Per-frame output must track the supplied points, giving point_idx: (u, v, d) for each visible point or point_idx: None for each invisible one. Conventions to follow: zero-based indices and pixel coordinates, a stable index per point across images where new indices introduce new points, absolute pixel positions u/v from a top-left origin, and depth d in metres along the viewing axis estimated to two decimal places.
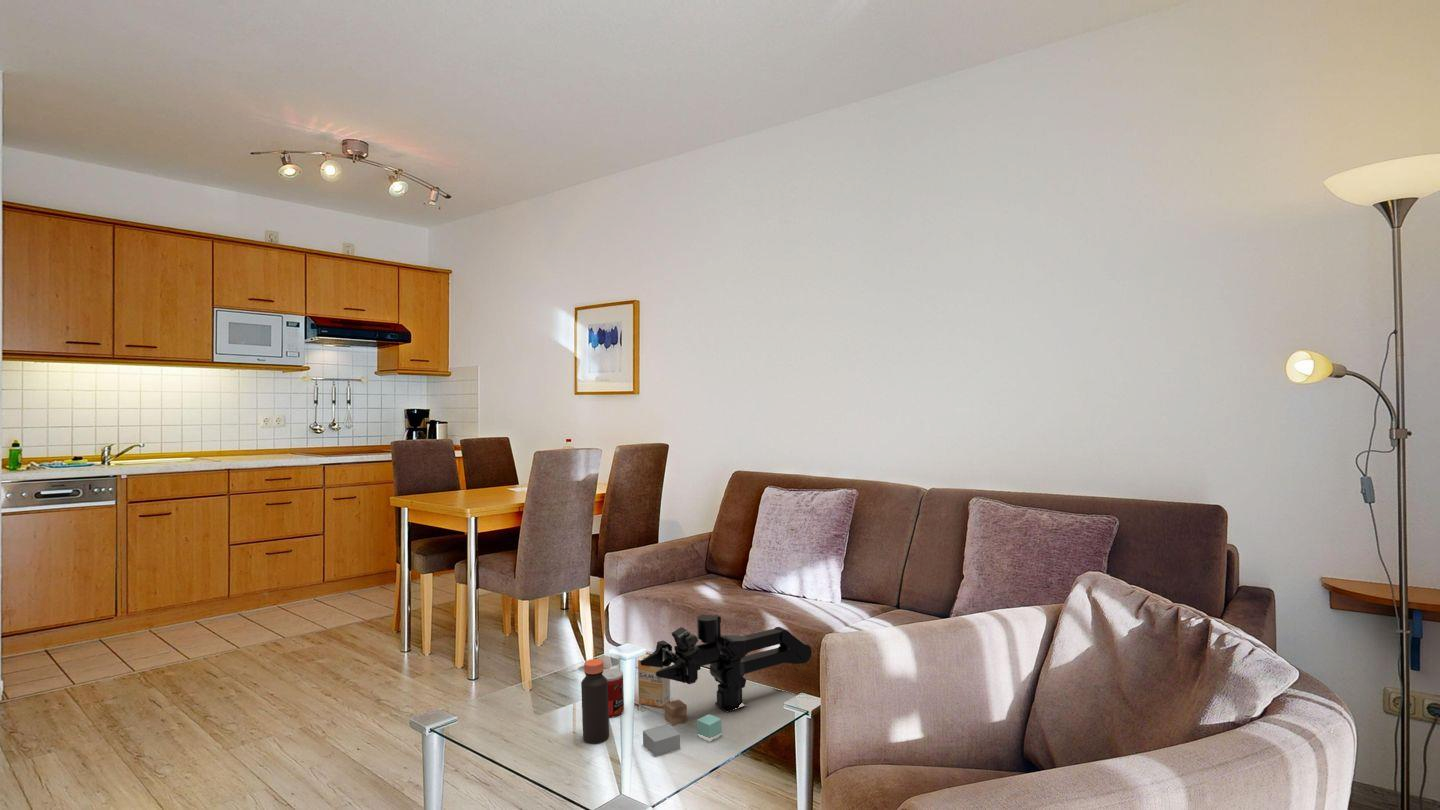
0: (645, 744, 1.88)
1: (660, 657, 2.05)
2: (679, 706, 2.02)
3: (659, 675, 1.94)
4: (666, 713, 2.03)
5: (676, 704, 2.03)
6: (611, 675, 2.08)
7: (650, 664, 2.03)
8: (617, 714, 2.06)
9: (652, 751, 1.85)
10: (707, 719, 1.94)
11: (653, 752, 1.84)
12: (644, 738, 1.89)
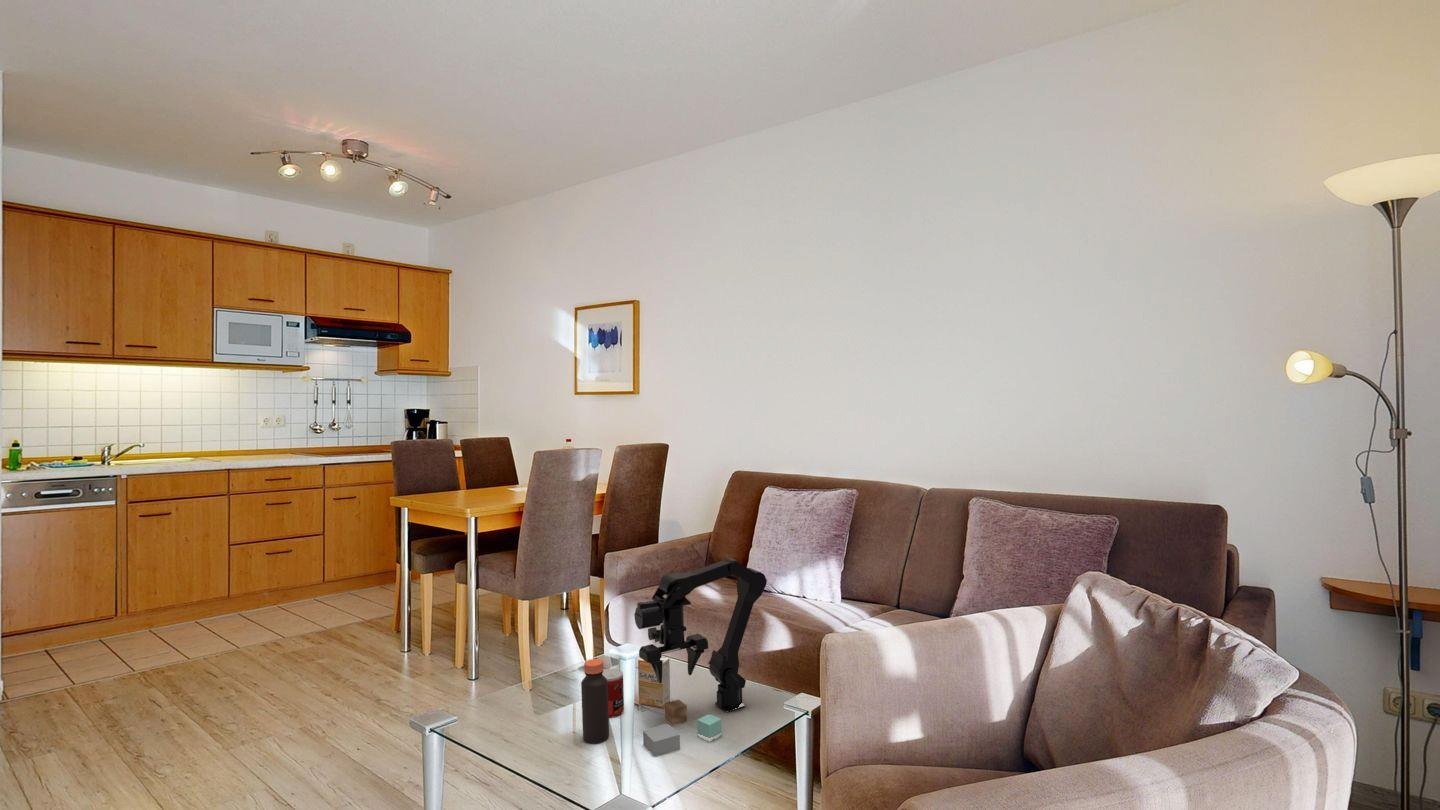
0: (645, 744, 1.89)
1: (690, 652, 2.05)
2: (679, 706, 2.02)
3: (659, 680, 2.00)
4: (666, 713, 2.03)
5: (676, 704, 2.03)
6: (611, 675, 2.08)
7: (691, 665, 2.04)
8: (617, 714, 2.06)
9: (652, 751, 1.85)
10: (707, 719, 1.94)
11: (653, 752, 1.85)
12: (644, 738, 1.89)
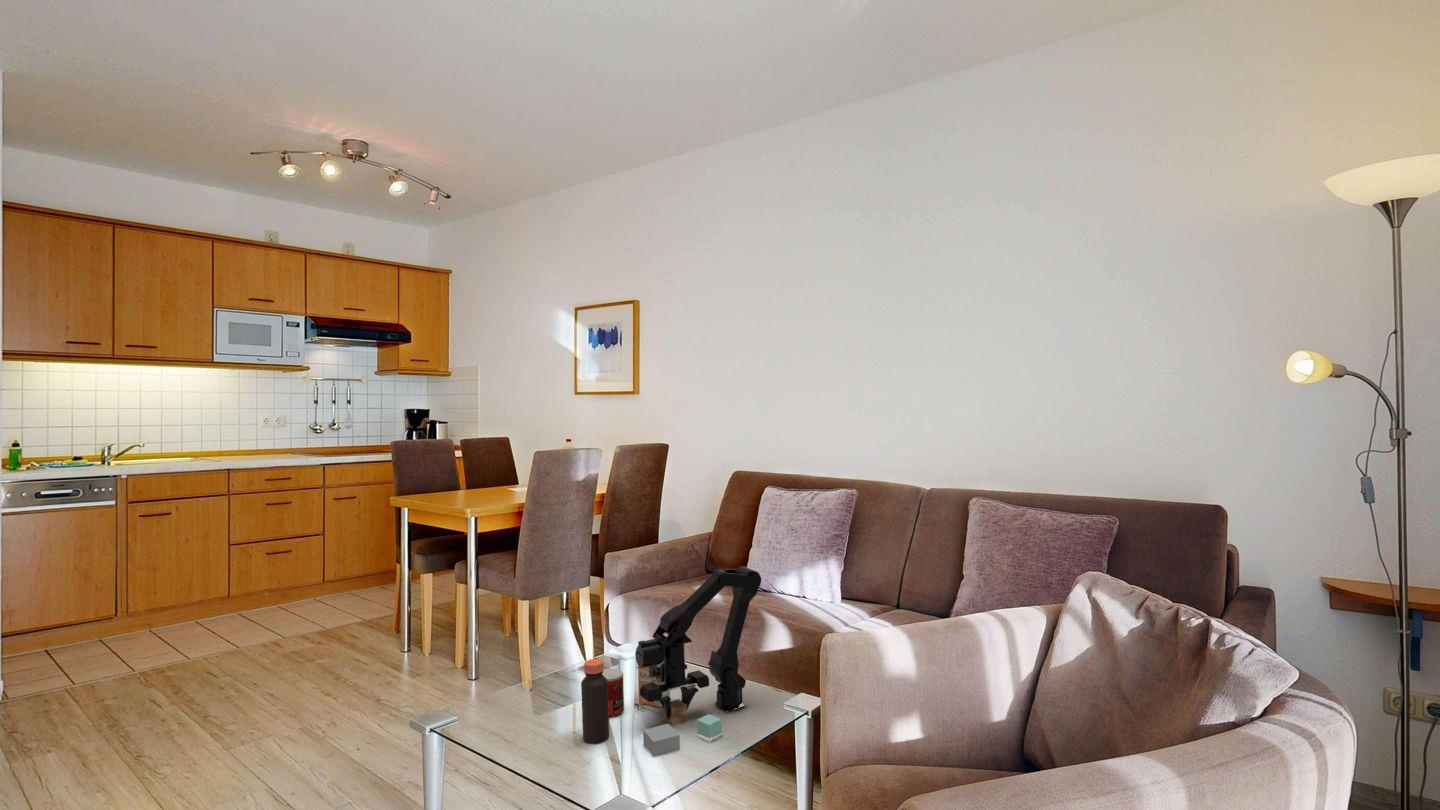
0: (646, 743, 1.89)
1: (684, 691, 2.05)
2: (679, 706, 2.02)
3: (667, 716, 2.01)
4: None
5: (676, 703, 2.03)
6: (611, 675, 2.08)
7: None
8: (617, 714, 2.06)
9: (651, 751, 1.85)
10: (707, 719, 1.94)
11: (652, 752, 1.85)
12: (644, 738, 1.89)
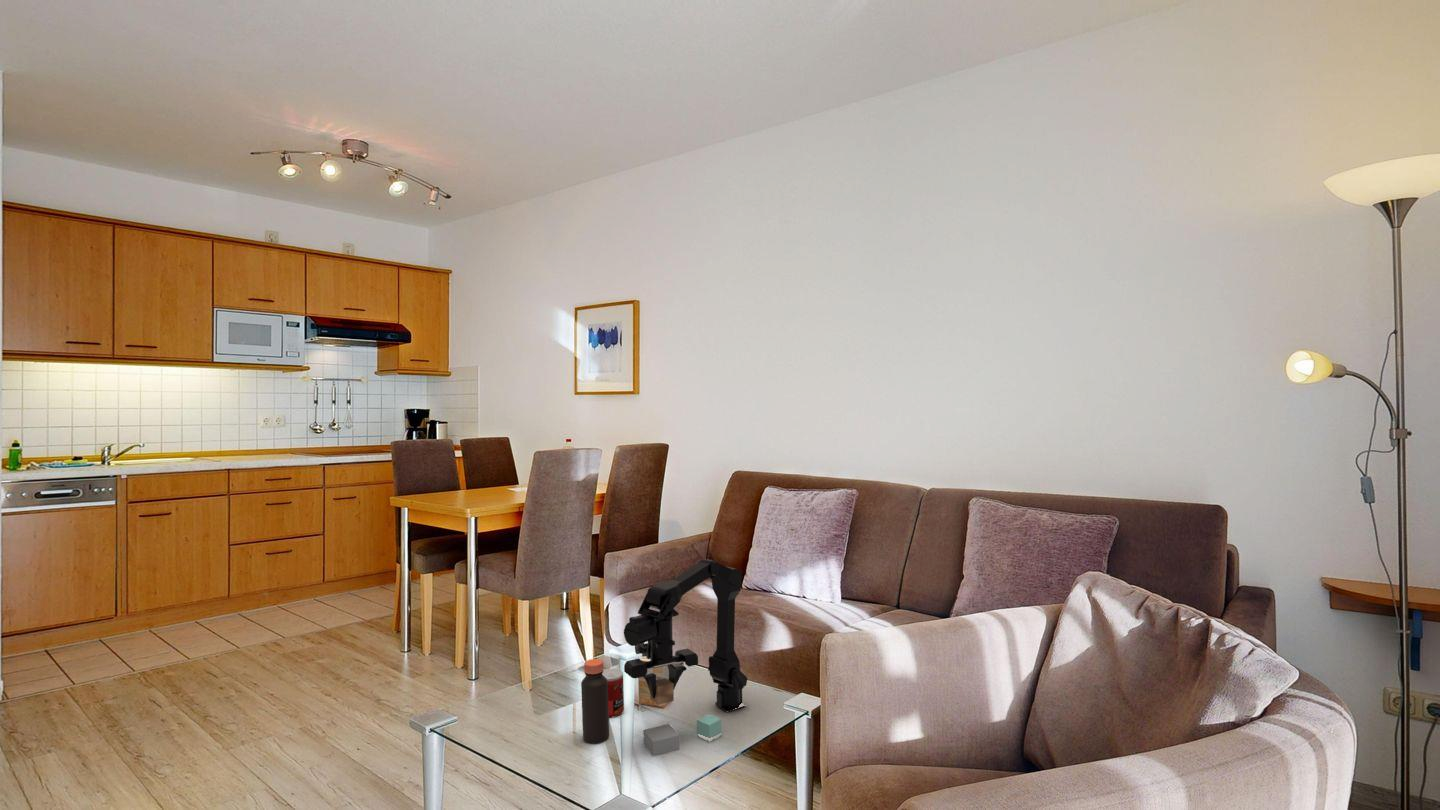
0: (646, 743, 1.89)
1: (671, 669, 1.93)
2: (665, 684, 1.90)
3: (652, 695, 1.90)
4: None
5: (663, 682, 1.92)
6: (611, 675, 2.08)
7: None
8: (617, 714, 2.06)
9: (651, 751, 1.85)
10: (707, 719, 1.94)
11: (652, 752, 1.85)
12: (644, 737, 1.89)
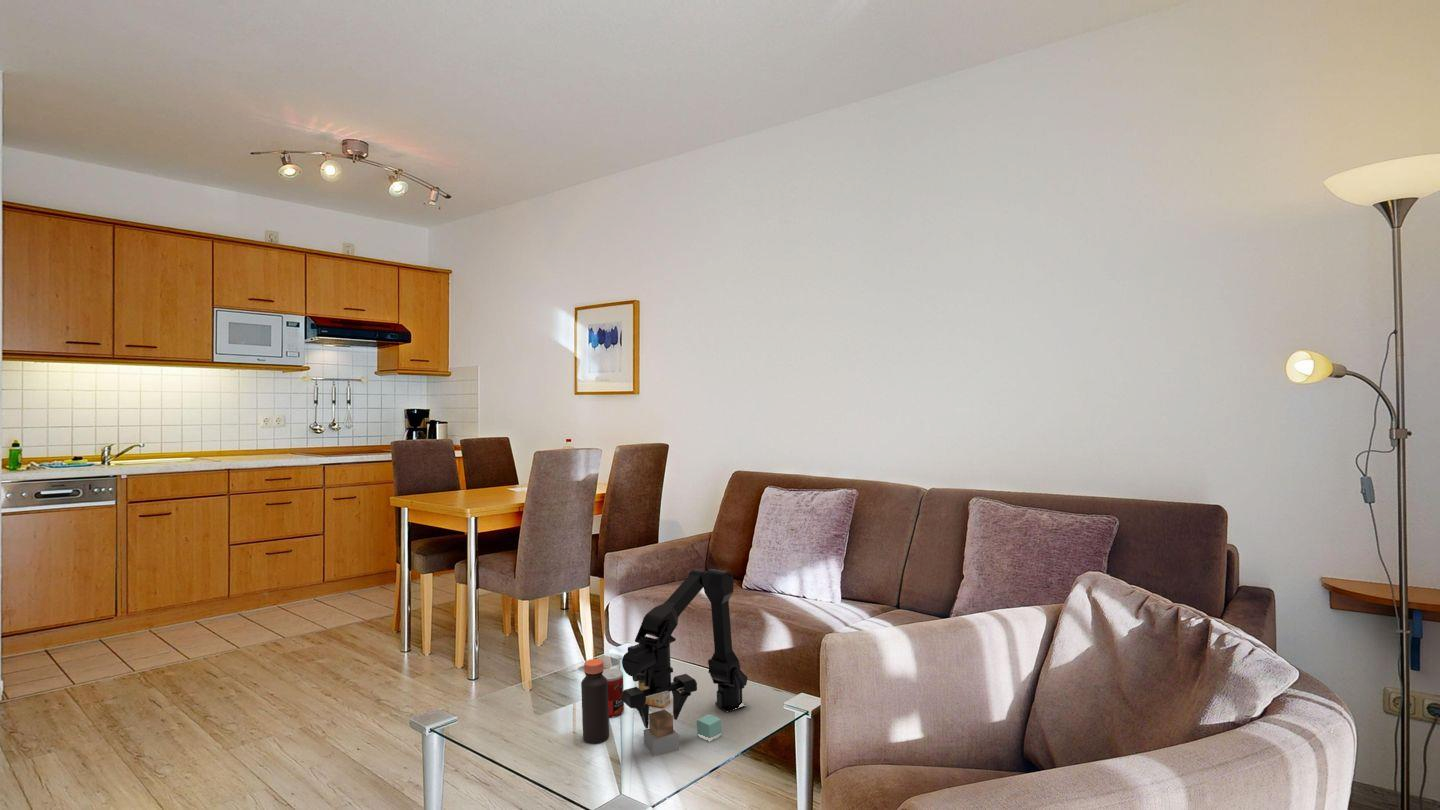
0: (646, 743, 1.89)
1: (676, 694, 1.91)
2: (664, 717, 1.87)
3: (645, 725, 1.86)
4: (651, 724, 1.89)
5: (662, 714, 1.89)
6: (611, 675, 2.08)
7: (676, 709, 1.90)
8: (617, 714, 2.06)
9: (651, 751, 1.85)
10: (707, 719, 1.94)
11: (652, 752, 1.85)
12: (644, 737, 1.89)
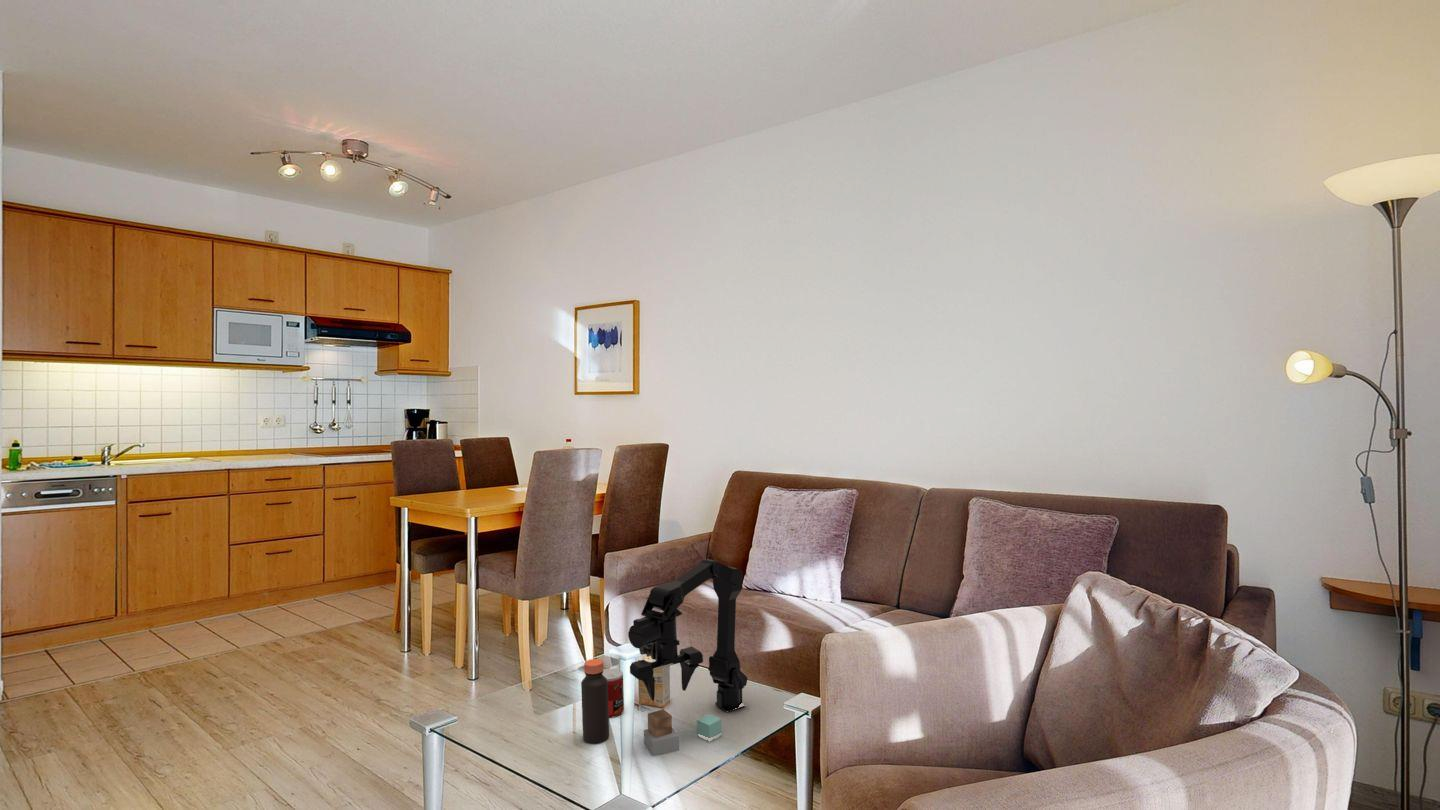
0: (646, 743, 1.89)
1: (684, 666, 1.95)
2: (663, 717, 1.87)
3: (651, 697, 1.90)
4: (649, 724, 1.89)
5: (661, 714, 1.89)
6: (611, 675, 2.08)
7: (685, 680, 1.94)
8: (617, 714, 2.06)
9: (651, 751, 1.85)
10: (707, 719, 1.94)
11: (652, 752, 1.85)
12: (644, 737, 1.89)
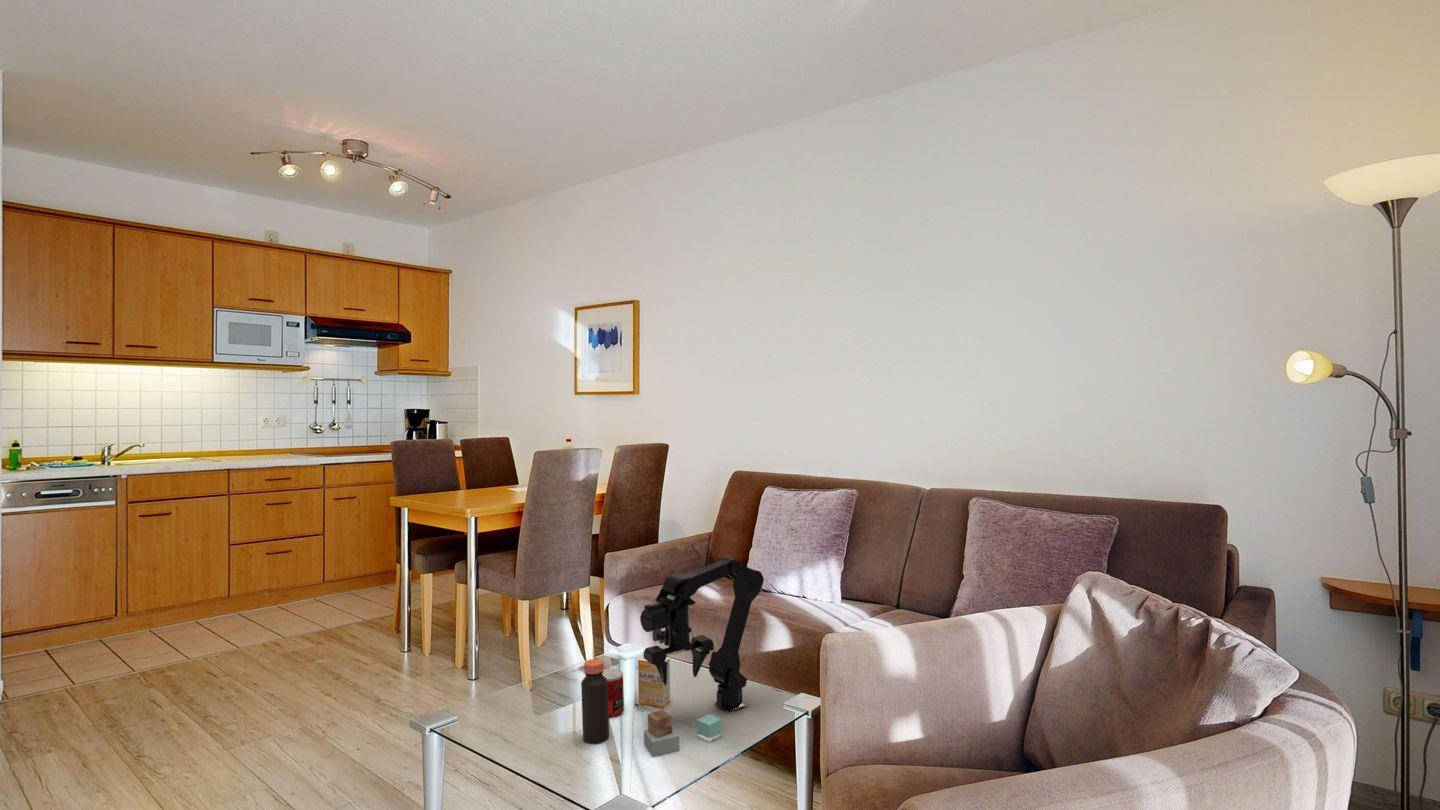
0: (646, 743, 1.89)
1: (695, 653, 2.03)
2: (664, 717, 1.87)
3: (663, 682, 1.97)
4: (650, 724, 1.88)
5: (661, 714, 1.89)
6: (611, 675, 2.08)
7: (696, 667, 2.02)
8: (617, 714, 2.06)
9: (651, 752, 1.85)
10: (707, 719, 1.94)
11: (652, 752, 1.84)
12: (645, 738, 1.89)
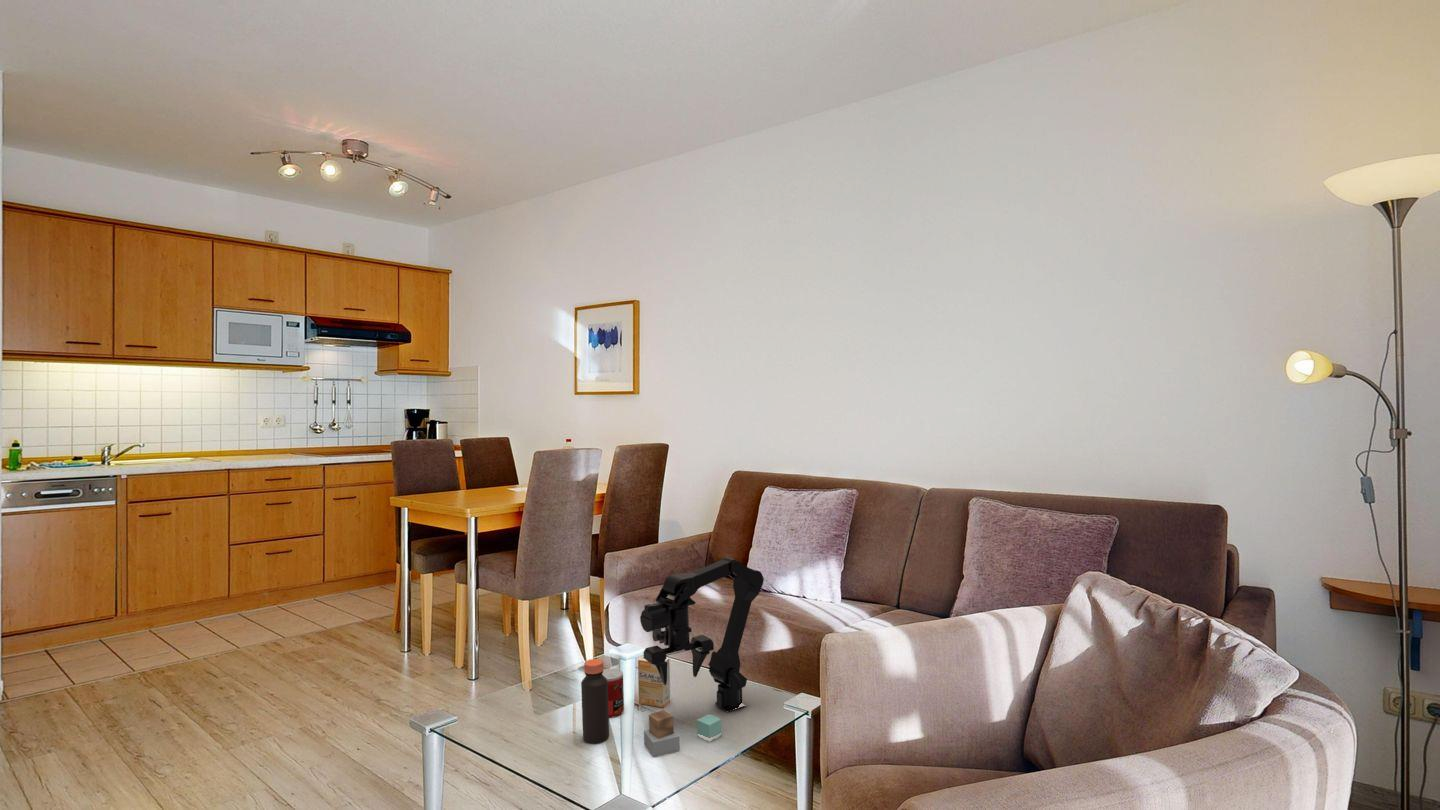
0: (646, 744, 1.88)
1: (695, 653, 2.03)
2: (665, 717, 1.87)
3: (663, 682, 1.97)
4: (651, 725, 1.88)
5: (662, 714, 1.89)
6: (611, 675, 2.08)
7: (696, 667, 2.02)
8: (617, 714, 2.06)
9: (651, 752, 1.85)
10: (707, 719, 1.94)
11: (652, 753, 1.84)
12: (645, 738, 1.89)
